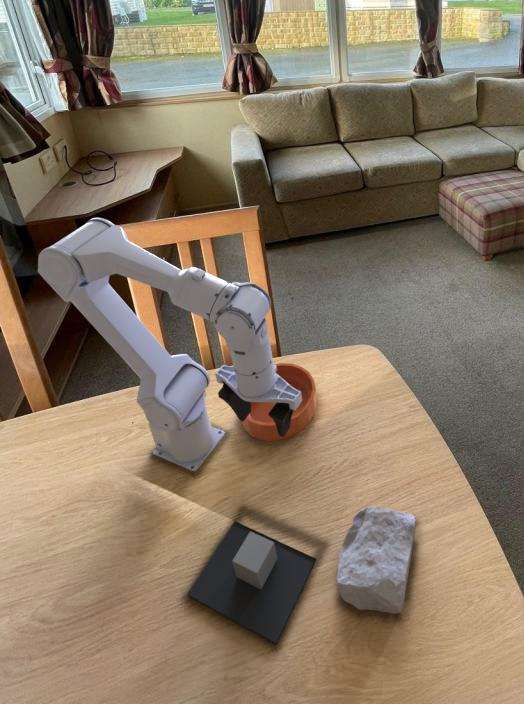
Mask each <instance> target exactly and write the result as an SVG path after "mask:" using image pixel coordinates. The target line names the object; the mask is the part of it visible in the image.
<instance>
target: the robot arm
mask: <svg viewBox="0 0 524 704" xmlns="http://www.w3.org/2000/svg"><path fill="white" fill-rule="evenodd" d="M37 273H38V274H39V275H40V277H42V279H43V280H44V281H45V282H46V283H47V284H48V285H49V286H50V287H51V288H52V290H53V291H54V292H55V293H56V294H57V295H58V296H59V297H60V298H61V299H62V300H63V302H65V303H67V302H71V304H73V306H74V307H75V308H76V309H77V310H78V311H79V313H81V314H82V315H83V317H84V318H85V319H86V320H87V321H88V322H89V324H91V325H92V327H93V328H94V329H95V330H96V331H97V332H98V333H99V335H100V336H102V338H103V339H104V340H105V341H106V343H107V344H108V345H110V347H111V348H112V349H113V350H114V351H115V352H116V353H117V354H118V356H119V357H120V358H121V359H122V360H123V361H124V362H125V363H126V364H127V365H128V366H129V368H130V369H131V370H132V371H133V372H134V373H135V374H136V375H137V377H138V378H139V387H138V391H137V396H136V403H137V405H138V406H140V408H141V410H142V411H143V413H144V416H145V418H146V421H147V422H148V428H149V430H150V433H151V436H152V439H153V441H154V444H155V447H156V448H155V449H154V450H153V451H152V454H153V455H155V456H157V457H160V458H161V459H164V460H166V461H168V462H171V463H173V464H176V465H178V466H180V467H182V468H185V469H187V470H188V471H191V472H196V471H197V470H198V469H199V468H200V467H201V465H202V464H203V463H204V462H205V460H207V457H209V455H210V454H211V452H213V450H214V449H215V447H216V446H217V445H218V444H219V442H220V441H221V440H222V438H223V437H224V436H225V435H226V432H225V431H224V430H221V429H220V428H217V427H214V426H212V422H211V418H210V414H209V411H208V407H207V403H206V396H207V393H206V389H207V388H208V387H209V386H210V383H211V377H210V375H209V373H208V370H207V369H206V368H205V367H204V366H203V365H201V364H199V363H198V362H196V361H194V360H193V359H192V358H191V357H190V356H189V354H187V353H180V354H179V353H178V354H174V355H171V354H170V353H169V352H168V350H167V349H166V348H165V347H164V346H163V345H162V344H161V343H160V342H159V340H158V339H157V338H156V337H155V335H153V333H152V332H151V331H150V330H149V329H148V328H147V326H146V325H145V324H144V323H143V322H142V320H141V319H140V318H139V316H137V314H136V313H135V312H134V311H133V310H132V309H131V308H130V307H129V305H128V304H127V303H126V302H125V301H124V300H123V298H122V297H121V296H120V295H119V294H118V293H117V292H116V290H115V289H114V288H113V287H112V286H111V284H110V282H109V280H110V276H113V275H116V274H117V275H120V276H122V277H124V278H128V279H131V280H133V281H136V282H139V283H141V284H144V285H146V286H149V287H152V288H155V289H158V290H161V291H164V292H167V294H168V296H169V299H170V301H171V303H172V305H174V306H176V307H178V308H181V309H183V310H185V311H188V312H190V313H191V314H193V315H196V316H198V317H200V318H202V319H205V320H207V321H209V322H211V323H213V326H214V329H215V330H216V332H217V333H218V334H219V336H220V337H222V338H223V339H224V341H225V345H226V348H228V349H229V352H230V357H231V362H232V363H231V364H232V366H230V365H225V364H223V365H221V366H220V368H219V369H217V371H216V372H214V373H215V379H216V382H217V383H219V384H222V387H221V388H220V389H219V390H218V393H217V396H218V398H219V399H221V400H222V401H224V402H225V403H226V404H227V405H228V406H229V407H230V408H231V410H232V412H234V414H235V415H236V417H237V419H238V420H239V421H240V422H241V421H244V420H245V419H246V417H247V416H248V415H249V414H250V412H251V403H250V402H273V403H276V404H275V405H274V407H273V408H272V409H271V411H270V412H269V414H268V415H269V416H270V417H271V418H272V419H273V420H274V422H275V424H276V427H277V431H278V434H279V436H281V437H284V436H285V434H286V433H287V431H288V430H289V428H290V424H291V418H292V414H293V411H294V410H296V409H297V407H298V406H299V405H300V403H301V402H302V395H301V391H299V390H297V389H294V388H293V387H292V386H290V385H289V384H288V383H287V382H286V381H285V380H283V379H282V378H281V377H280V376H279V375H278V374H276V373H275V372H276V370H277V367H276V365H274V364H275V363H274V358H273V351H272V346H271V339H270V334H269V333H270V332H269V328H268V322H267V317H266V316H268V314H269V312H270V309H271V308H272V299H271V297H270V295H269V293H268V292H267V291H266V290H265V289H264V288H262V287H261V286H260V285H258V284H256V283H255V282H249V281H248V282H247V281H246V282H238V281H232V283H231V282H229V281H226V280H225V279H222V278H220V277H217V276H215V275H213V274H211V273H209V272H207V271H205V270H203V269H201V268H198V267H195V266H191V267H187V268H184V269H181V268H178V267H177V266H175V265H173V264H171V263H170V262H168V261H166V260H164V259H162V258H161V257H158V256H157V255H155V254H153V253H152V252H149V251H148V250H147V249H144V248H142V247H141V246H139V245H137V244H135V243H134V242H132V241H130V240H129V238H128V235H127V233H126V232H125V230H124V229H123V227H121V226H120V225H116V224H114V223H113V222H111V221H110V220H108V219H105V218H103V217H93V218H91V219H89V220H88V221H86V223H85V224H83V225H82V226H80V227H78V228H77V229H75V230H74V231H72V232H71V233H69V234H67V235H66V236H64V237H63V238H61V239H60V240H59V241H57V242H55V243H54V244H52V245H50V246H49V247H46V248H44V249H43V250H41V252H40V253H39V254H38V258H37ZM220 432H221V433H220ZM192 467H193V468H192Z"/></svg>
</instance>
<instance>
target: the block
mask: <svg viewBox="0 0 524 704" xmlns="http://www.w3.org/2000/svg"><path fill="white" fill-rule="evenodd" d="M276 561H277V554H276V549H275V545H274V542H272V541H270V540H268V539H265V538H263V537H261V536H259V535H257V534H255V533H252V532H250V533H249V534H248V536H247V537H246V539H245V541H244V542H243V544H242V546H241V547H240V549H239V551H238V552H237V554H236V556H235V557H234V559H233V561H232V562H233V565H234V569H235V572H236V576H237V578H239V579H241V580H243V581H245V582H247V583H249V584H251V585H253V586H255V587H257V588H259V589H262V587H263V585H264V583H265V582H266V580H267V578H268V576H269V574H270V572H271V570H272V568H273V567H274V565H275V563H276Z"/></svg>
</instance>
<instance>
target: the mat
mask: <svg viewBox="0 0 524 704" xmlns="http://www.w3.org/2000/svg"><path fill="white" fill-rule="evenodd" d="M250 532H252V533H255V534H257V535H259V536H261V537H263V538H265V539H268V540H270V541H272V542H274V545H275V549H276V554H277V561H276V563H275V565H274V567H273V568H272V570H271V572H270V574H269V576H268V578H267V580H266V582H265V583H264V585H263V587H262V589H259V588H257V587H255V586H253V585H251V584H249V583H247V582H245V581H243V580H241V579H239V578H237V576H236V572H235V569H234V565H233V562H232V561H233V559H234V557H235V556H236V554H237V552H238V551H239V549H240V547H241V546H242V544H243V542H244V541H245V539H246V537H247V536H248V534H249V533H250ZM316 561H317V558H316V557H314V556H312V555H309V554H307V553H305V552H303V551H301V550H299V549H297V548H294V547H292V546H291V545H288V544H286V543H283V542H281V541H279V540H277V539H275V538H273V537H271V536H268V535H266V534H264V533H262V532H259V531H257V530H256V529H253V528H250V527H248V526H247V525H244V524H242V523H240V522H237V521H235V520H234V521H233V523H232V524H231V526H230V527H229V529H228V531H227V532H226V534H225V535H224V537H223V538H222V540H221V542H220V543H219V545H218V546H217V548H216V549H215V551H214V552H213V554H212V555H211V557H210V559H209V560H208V562H207V564H206V565H205V567H203V570H202V571H201V572H200V575H199V576H198V577H197V579H196V580H195V582H194V583H193V585H192V587H191V588H190V590H189V591H188V593H187V596H188V598H190V599H193V600H194V601H196V602H198V603H200V604H201V605H203V606H205V607H207V608H208V609H211V610H212V611H214V612H216V613H218V614H220V615H222V616H223V617H226V618H227V619H229V620H231V621H232V622H234V623H236V624H238V625H239V626H242V627H243V628H245V629H247V630H248V631H250V632H253V633H254V634H256V635H258V636H259V637H261V638H264V639H265V640H266V641H269V642H271V643H273V644H274V645H277V644H278V642H279V640H280V638H281V636H282V633H283V631H284V630H285V627H286V625H287V623H288V621H289V619H290V616H291V615H292V612H293V610H294V608H295V606H296V604H297V603H298V600H299V598H300V596H301V594H302V591H303V589H304V586H305V585H306V584H307V583H306V582H307V580H308V579H309V576H310V574H311V572H312V569H313V567H314V565H315V563H316Z"/></svg>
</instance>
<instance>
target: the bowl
mask: <svg viewBox="0 0 524 704" xmlns="http://www.w3.org/2000/svg"><path fill="white" fill-rule="evenodd" d="M274 365H276V367H277V370H276V372H275V373H276V374H278V375H279V376H280V377H281V378H282V379H283V380H285V381H286V382H287V383H288V384H289V385H290V386H292V387H293V388H294V389H297V390H299V391H301V395H302V402H301V403H300V405H299V406H298V407H297V409H296V410H294V411H293V414H292V418H291V424H290V428H289V430H288V431H287V433H286V434H285V436H284V437H281V436H279V434H278V431H277V427H276V424H275V422H274V420H273V419H272V418H271V417H270V416H269V415H268V414H269V412H270V411H271V409H272V408H273V407H274V405H275V404H276V403H273V402H250V403H251V412H250V414H249V415H248V416H247V417H246V419H245V420H244V421H240V423H241V425H242V427H243V430H244V431H245V432H247V433H248V434H249V435H250V436H251V437H252V438H255V439H258V440H261V441H270V442H276V441H281V440H284V439H289V438H290V437H292V436H295V435H296V434H299V433H300V432H301V431H303V430H304V428H306V427H307V426H308V425H309V424H310V423H311V421H312V420H313V418H314V416H315V415H316V412H317V407H318V396H317V395H318V394H317V389H316V382H315V379H314V377H313V376H312V374H311V372H310V371H309V370H307V369H306V368H304V367H303V366H302V365H298V364H294V363H290V362H289V363H288V362H287V363H284V362H281V363H274Z"/></svg>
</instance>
